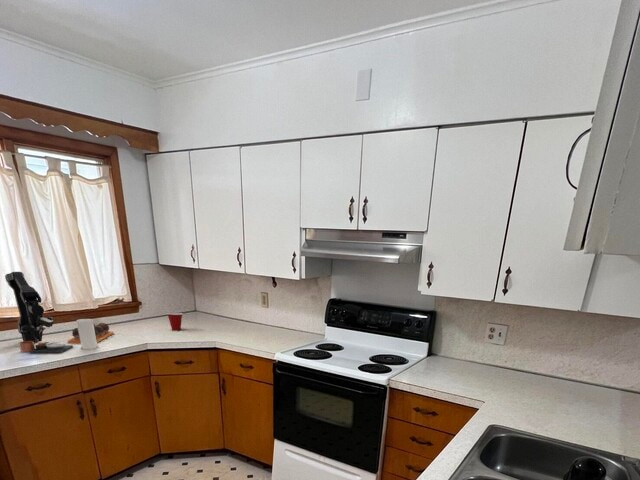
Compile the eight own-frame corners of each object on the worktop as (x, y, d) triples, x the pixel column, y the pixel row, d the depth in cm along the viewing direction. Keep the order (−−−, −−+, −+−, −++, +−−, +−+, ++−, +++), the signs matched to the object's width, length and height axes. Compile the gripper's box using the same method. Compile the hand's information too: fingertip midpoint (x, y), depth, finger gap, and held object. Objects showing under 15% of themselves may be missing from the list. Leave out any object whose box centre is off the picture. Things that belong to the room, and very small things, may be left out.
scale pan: (34, 347, 235) (33, 346, 235) (44, 342, 245) (44, 341, 245) (60, 347, 236) (60, 346, 236) (69, 343, 246) (69, 342, 246)
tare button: (37, 346, 239) (37, 343, 238) (40, 345, 241) (39, 342, 240) (42, 346, 239) (41, 343, 238) (45, 345, 241) (44, 342, 241)
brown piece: (88, 333, 283) (85, 320, 280) (113, 333, 285) (111, 321, 282) (68, 343, 258) (65, 329, 254) (96, 343, 259) (93, 329, 256)
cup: (91, 349, 245) (85, 321, 239) (78, 348, 247) (72, 320, 241) (100, 346, 253) (95, 319, 247) (88, 345, 254) (83, 318, 248)
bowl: (18, 352, 235) (16, 343, 233) (25, 349, 242) (23, 340, 240) (31, 352, 236) (29, 343, 234) (38, 349, 242) (35, 341, 240)
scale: (30, 353, 234) (28, 348, 233) (44, 347, 247) (43, 342, 246) (60, 353, 235) (59, 348, 234) (73, 347, 248) (72, 342, 247)
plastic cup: (187, 329, 304) (186, 312, 300) (175, 332, 296) (173, 314, 291) (177, 327, 310) (175, 310, 305) (165, 329, 301) (163, 312, 296)
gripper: (39, 316, 225) (46, 345, 231) (57, 310, 242) (63, 337, 248) (17, 316, 224) (24, 345, 230) (37, 310, 241) (43, 337, 247)
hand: (40, 341), depth 239 cm, fingers closed
